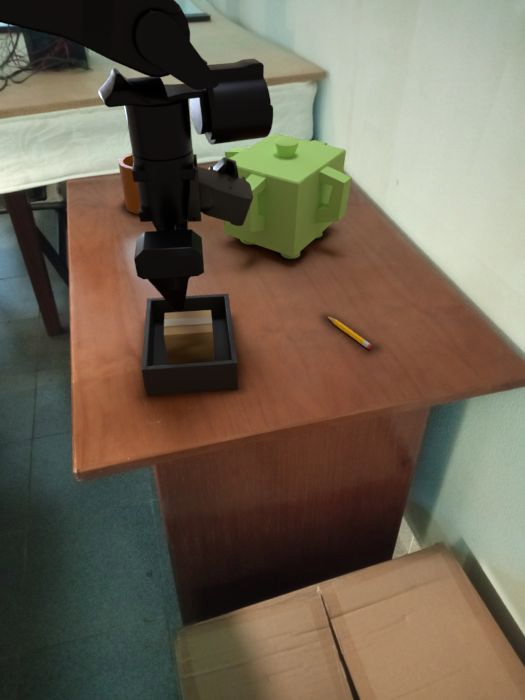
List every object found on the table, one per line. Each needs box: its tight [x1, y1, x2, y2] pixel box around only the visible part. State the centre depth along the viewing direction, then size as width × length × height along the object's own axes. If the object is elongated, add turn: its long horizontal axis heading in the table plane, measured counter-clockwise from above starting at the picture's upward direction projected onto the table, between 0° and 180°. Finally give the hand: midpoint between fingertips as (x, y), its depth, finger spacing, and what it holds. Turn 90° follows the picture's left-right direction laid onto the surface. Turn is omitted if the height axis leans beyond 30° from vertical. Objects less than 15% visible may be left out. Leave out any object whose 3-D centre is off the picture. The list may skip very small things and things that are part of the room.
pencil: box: [327, 316, 373, 351], centre depth 70 cm, size 1×9×1 cm, turn 38°
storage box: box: [223, 132, 353, 260], centre depth 84 cm, size 25×23×17 cm
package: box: [164, 310, 215, 364], centre depth 64 cm, size 6×4×5 cm
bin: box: [141, 293, 239, 397], centre depth 65 cm, size 11×14×4 cm
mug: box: [117, 153, 141, 215], centre depth 96 cm, size 9×12×9 cm
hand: (179, 285), depth 57 cm, fingers open, 9 cm apart
